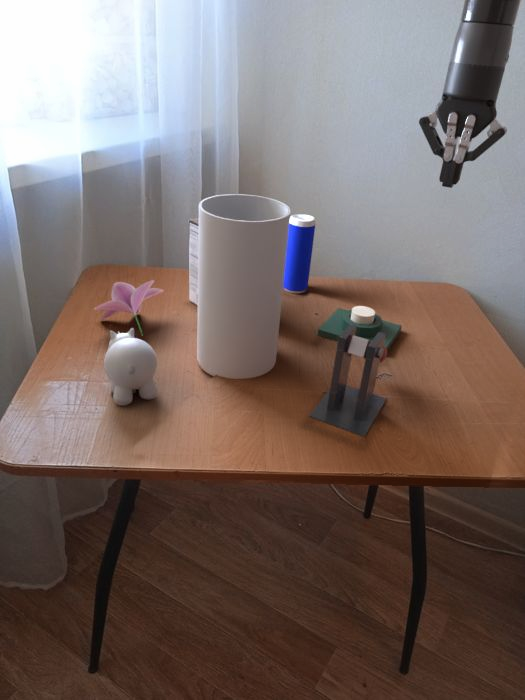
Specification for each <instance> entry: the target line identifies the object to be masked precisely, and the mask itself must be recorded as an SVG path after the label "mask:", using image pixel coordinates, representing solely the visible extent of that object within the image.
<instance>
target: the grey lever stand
mask: <svg viewBox="0 0 525 700" xmlns="http://www.w3.org/2000/svg"><path fill="white" fill-rule="evenodd" d="M356 328H357V326H356V325H353V324H349V326H348V327H347V328H346V329H345V330H344V331H343V332H342V334H341V335H340V336H339V338H338V341H336V342H337V343H336V351H335V357H334V362H333V369H332V377H331V382H330V386H329V387H330V388H329V389H328V390H327V392H326V393H325V394H324V395H323V397H322V398H321V399H320V400H319V401H318V404H316V406H315V407H314V409H312V411H311V412H310V414H309V415H308V417H309V418H311V419H314V420H317V421H319V422H321V423H324V424H327V425H330V426H333V427H335V428H339V429H341V430H343V431H346V432H349V433H351V434H354V435H357V436H359V437H362V438H365V437H366V435H367V434H368V431H369V430H370V429H371V427H372V425H373V423H374V422H375V420H376V418H377V416H378V415H379V413H380V411H382V408H383V406H384V405H385V403H386V401H387V398H386V397H383V396H381V395H377V394H374V391H375V387H376V382H377V377H378V373H379V367H380V364H381V363H380V359H381V357H382V355H383V351H384V349H383V344H384V340H385V335H386V334H384V333H380V332H378V333H377V335H376V336H375V337H374V339H373V340H372V341H371V343H370V344H369V345H368V349H367V354H366V359H364V365H363V369H362V373H361V380H360V385H359V388H356V387H353V386H350V385H347V383H348V379H349V372H350V367H351V361H352V355H353V354H350V353H348V349H349V346H350V343H351V340H352V337H353V335H354V336H355V334H356Z"/></svg>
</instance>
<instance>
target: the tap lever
mask: <svg viewBox="0 0 525 700" xmlns="http://www.w3.org/2000/svg"><path fill="white" fill-rule="evenodd" d="M370 343H371V341H370V340H367V339H364V338H361V337H357V336H354V335H353V337H352V340H351V343H350V346H349V349H348V353H350V354H352V355H353V356H356V357H359V358H363V359H364V360H365V359H366V354H367V349H368V345H369V344H370ZM383 349H384V351H383V355H382V357H381V359H380V363H379V364H381V363H383V362H384V361H385V360H386V358H387V355H388V351H387V349H386V347H385V345H384V344H383Z"/></svg>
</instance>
